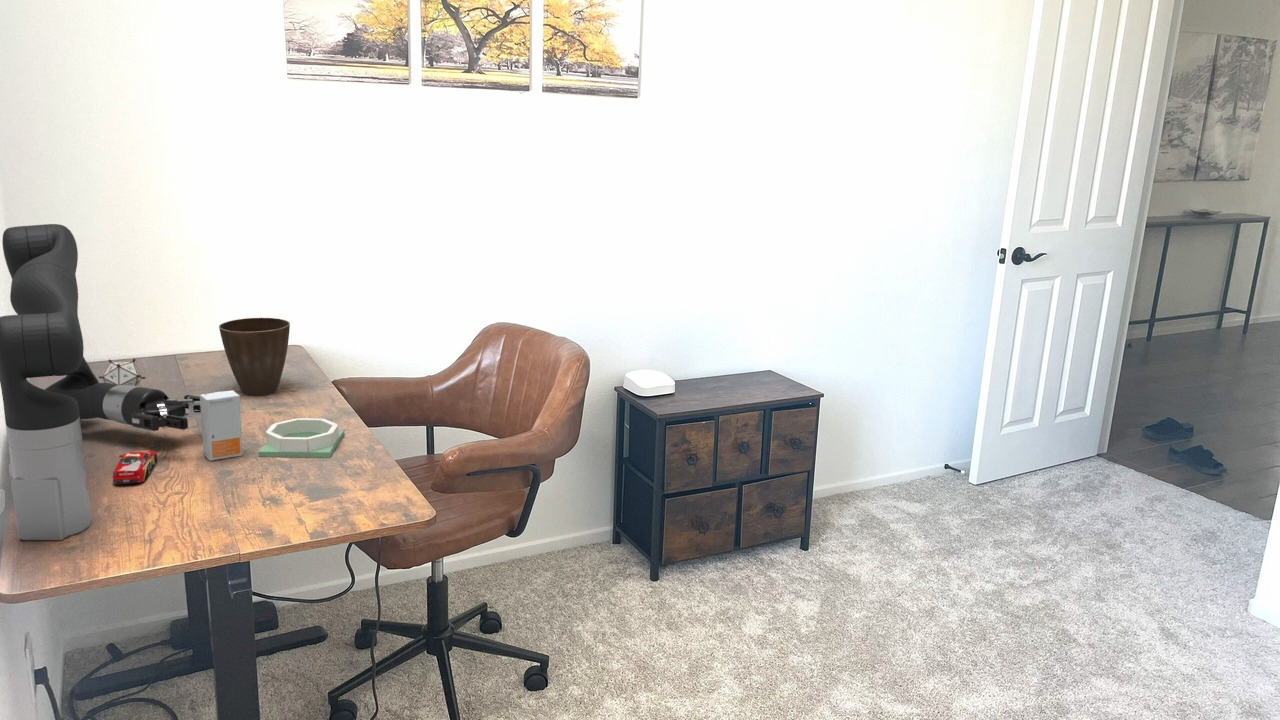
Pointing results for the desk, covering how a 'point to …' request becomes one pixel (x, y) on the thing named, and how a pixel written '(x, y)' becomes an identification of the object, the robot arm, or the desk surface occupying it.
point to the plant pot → (256, 352)
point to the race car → (134, 467)
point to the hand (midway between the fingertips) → (204, 417)
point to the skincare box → (221, 425)
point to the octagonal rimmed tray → (302, 438)
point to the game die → (122, 373)
